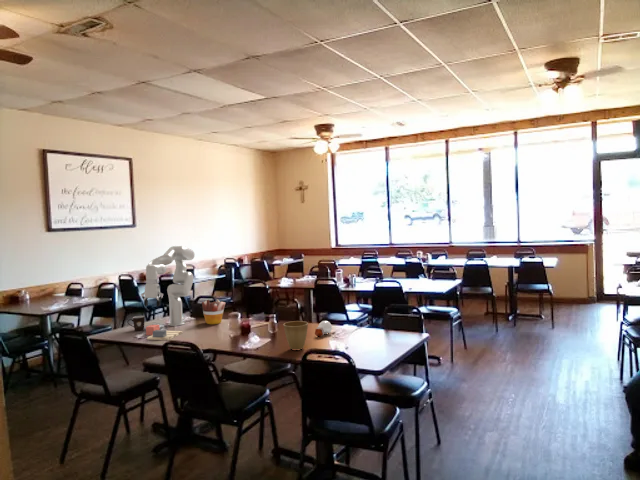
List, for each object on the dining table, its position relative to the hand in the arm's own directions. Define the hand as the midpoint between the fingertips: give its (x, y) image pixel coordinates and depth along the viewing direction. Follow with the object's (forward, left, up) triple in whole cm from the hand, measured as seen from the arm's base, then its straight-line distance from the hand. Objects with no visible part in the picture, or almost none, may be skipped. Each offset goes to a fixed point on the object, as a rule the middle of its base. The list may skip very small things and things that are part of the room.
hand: (152, 305), depth 357 cm
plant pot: (+30, +115, -21) cm, 121 cm away
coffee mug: (-10, -19, -21) cm, 30 cm away
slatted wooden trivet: (+6, +13, -20) cm, 25 cm away
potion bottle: (-8, +124, -21) cm, 126 cm away
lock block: (0, 0, -20) cm, 20 cm away
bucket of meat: (-39, +29, -21) cm, 52 cm away
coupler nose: (+13, +13, -19) cm, 26 cm away
